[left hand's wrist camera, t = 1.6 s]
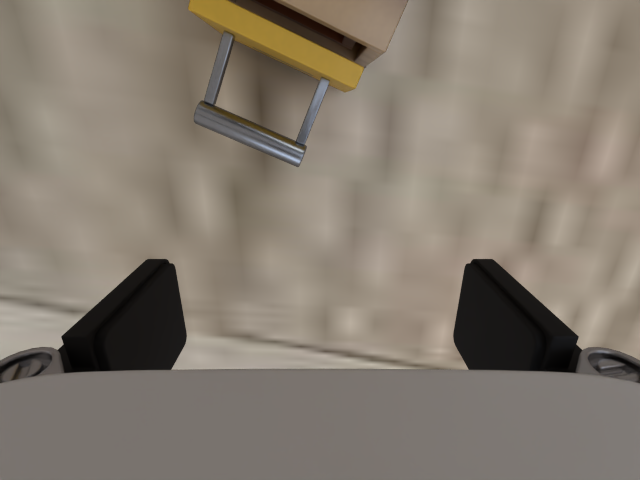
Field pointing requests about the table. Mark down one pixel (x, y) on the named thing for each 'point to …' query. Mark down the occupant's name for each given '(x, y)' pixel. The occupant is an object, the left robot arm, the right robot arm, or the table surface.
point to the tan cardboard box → (341, 23)
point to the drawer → (280, 46)
